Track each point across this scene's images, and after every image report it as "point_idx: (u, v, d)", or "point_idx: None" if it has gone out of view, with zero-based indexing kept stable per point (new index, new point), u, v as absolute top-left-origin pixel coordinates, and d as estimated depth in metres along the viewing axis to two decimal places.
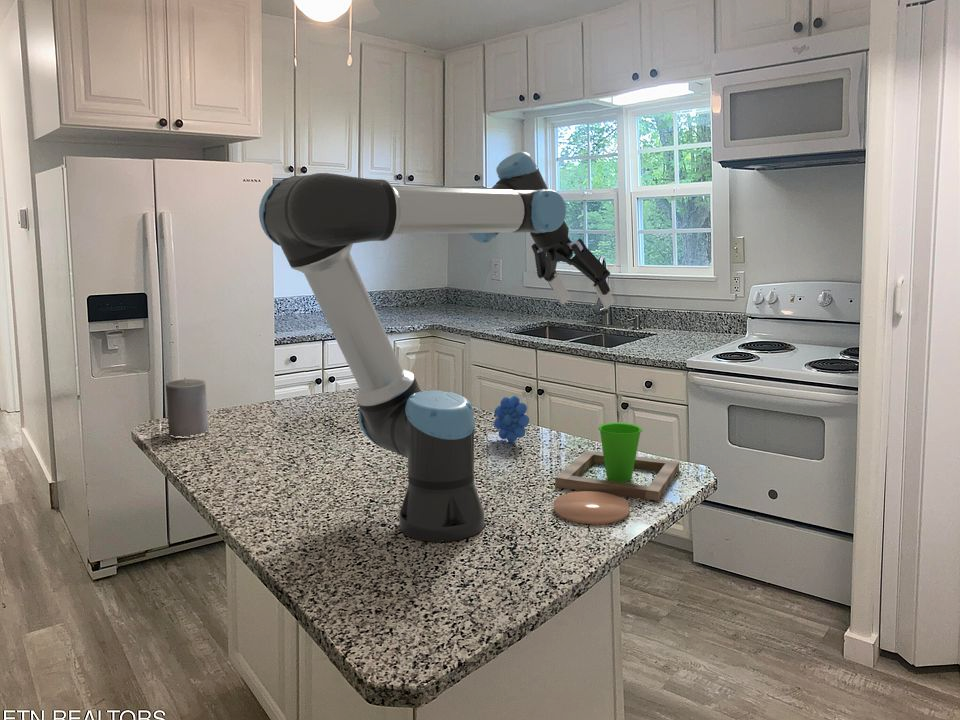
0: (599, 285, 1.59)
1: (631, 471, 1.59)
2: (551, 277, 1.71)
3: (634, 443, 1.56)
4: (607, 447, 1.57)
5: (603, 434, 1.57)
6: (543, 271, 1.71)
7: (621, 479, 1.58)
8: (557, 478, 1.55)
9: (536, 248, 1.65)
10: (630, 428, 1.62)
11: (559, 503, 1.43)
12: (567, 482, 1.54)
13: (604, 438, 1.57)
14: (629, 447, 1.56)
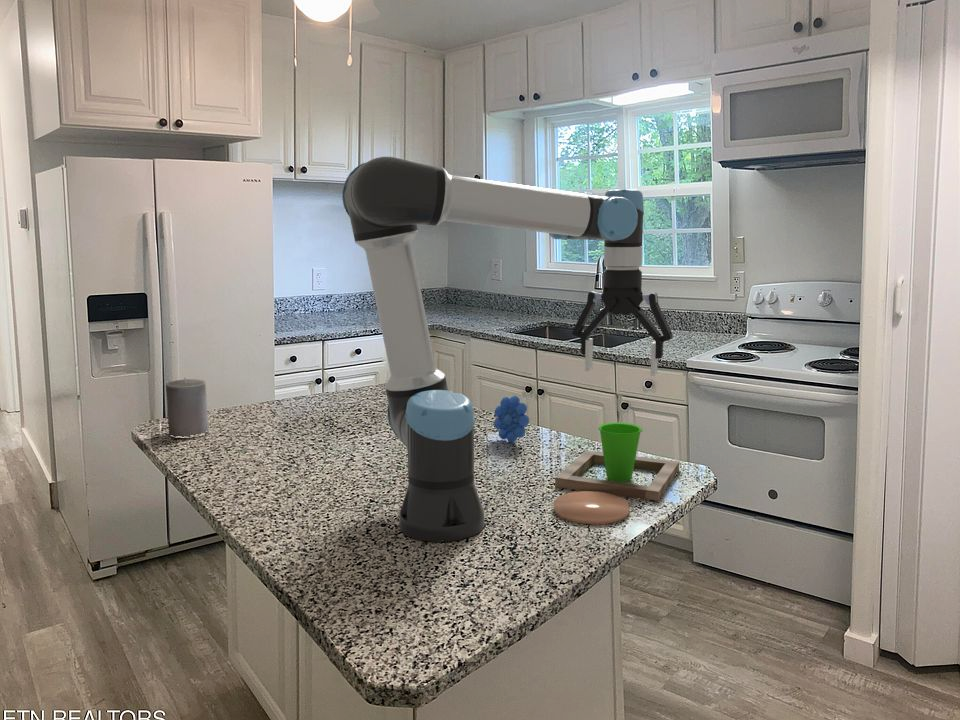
0: (658, 346, 1.52)
1: (631, 471, 1.59)
2: (587, 337, 1.59)
3: (634, 443, 1.56)
4: (607, 447, 1.57)
5: (603, 434, 1.57)
6: None
7: (621, 479, 1.58)
8: (557, 478, 1.55)
9: (593, 296, 1.56)
10: (630, 428, 1.62)
11: (559, 503, 1.43)
12: (567, 482, 1.54)
13: (604, 438, 1.57)
14: (629, 447, 1.56)
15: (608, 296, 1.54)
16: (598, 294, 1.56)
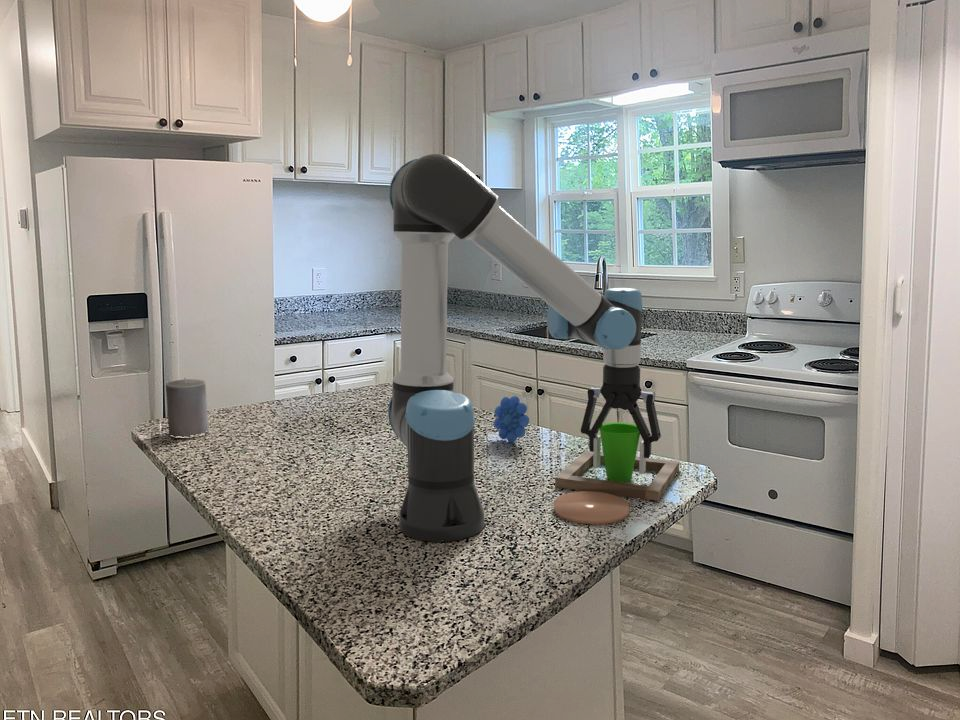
0: (646, 446, 1.56)
1: (631, 471, 1.59)
2: (595, 435, 1.61)
3: (634, 443, 1.56)
4: (607, 447, 1.57)
5: (603, 434, 1.57)
6: None
7: (621, 479, 1.58)
8: (557, 478, 1.55)
9: (593, 392, 1.59)
10: (630, 428, 1.62)
11: (559, 503, 1.43)
12: (567, 482, 1.54)
13: (604, 438, 1.57)
14: (629, 447, 1.56)
15: (607, 390, 1.58)
16: (597, 389, 1.59)
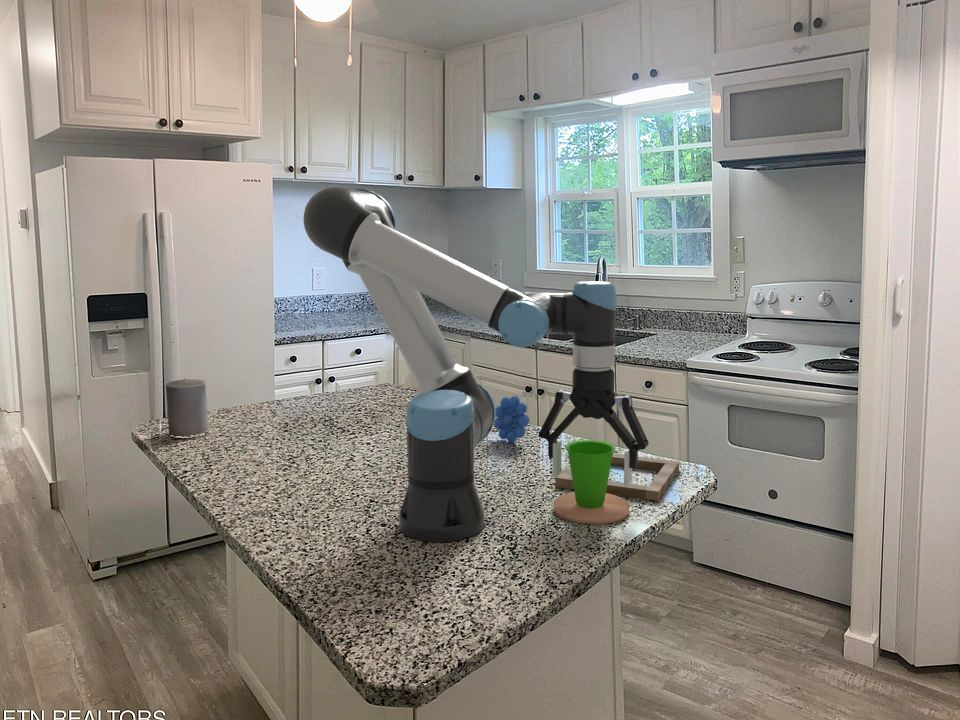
0: (632, 455, 1.37)
1: (603, 496, 1.41)
2: (555, 440, 1.44)
3: (605, 465, 1.38)
4: (575, 469, 1.39)
5: (571, 455, 1.39)
6: None
7: (591, 505, 1.40)
8: (557, 478, 1.55)
9: (561, 396, 1.41)
10: (603, 447, 1.43)
11: (559, 503, 1.43)
12: (567, 482, 1.54)
13: (572, 459, 1.39)
14: (600, 469, 1.38)
15: (577, 397, 1.39)
16: (567, 394, 1.41)
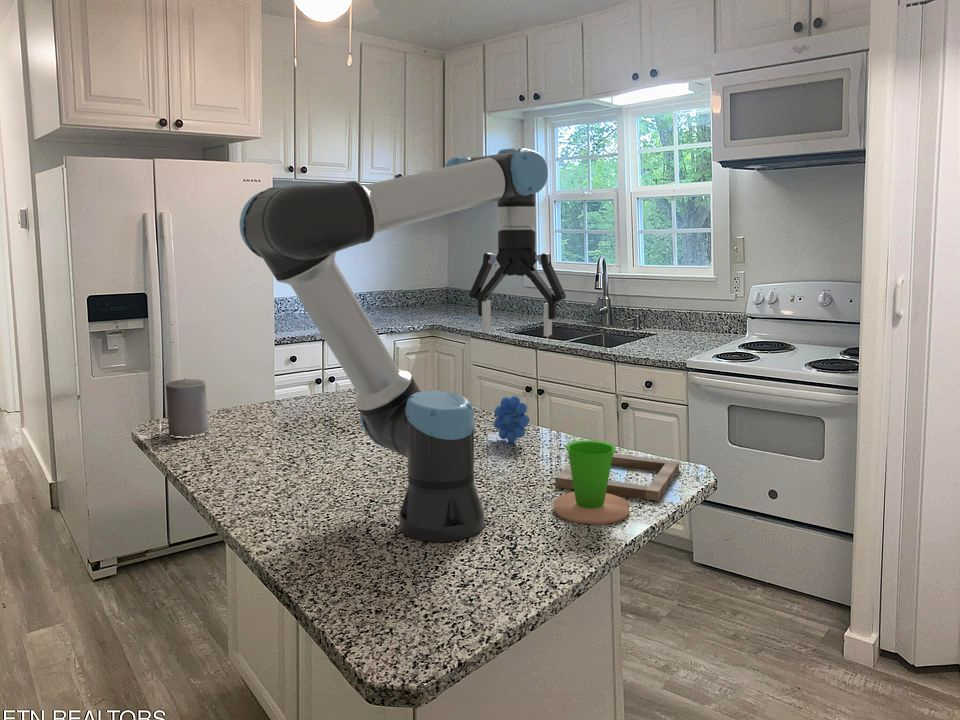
0: (551, 306, 1.52)
1: (603, 496, 1.41)
2: (484, 299, 1.58)
3: (605, 465, 1.38)
4: (575, 469, 1.39)
5: (571, 454, 1.39)
6: None
7: (591, 505, 1.40)
8: (557, 478, 1.55)
9: (488, 257, 1.56)
10: (603, 448, 1.44)
11: (559, 503, 1.43)
12: (567, 482, 1.54)
13: (572, 459, 1.39)
14: (600, 469, 1.38)
15: (502, 257, 1.54)
16: (493, 255, 1.56)
